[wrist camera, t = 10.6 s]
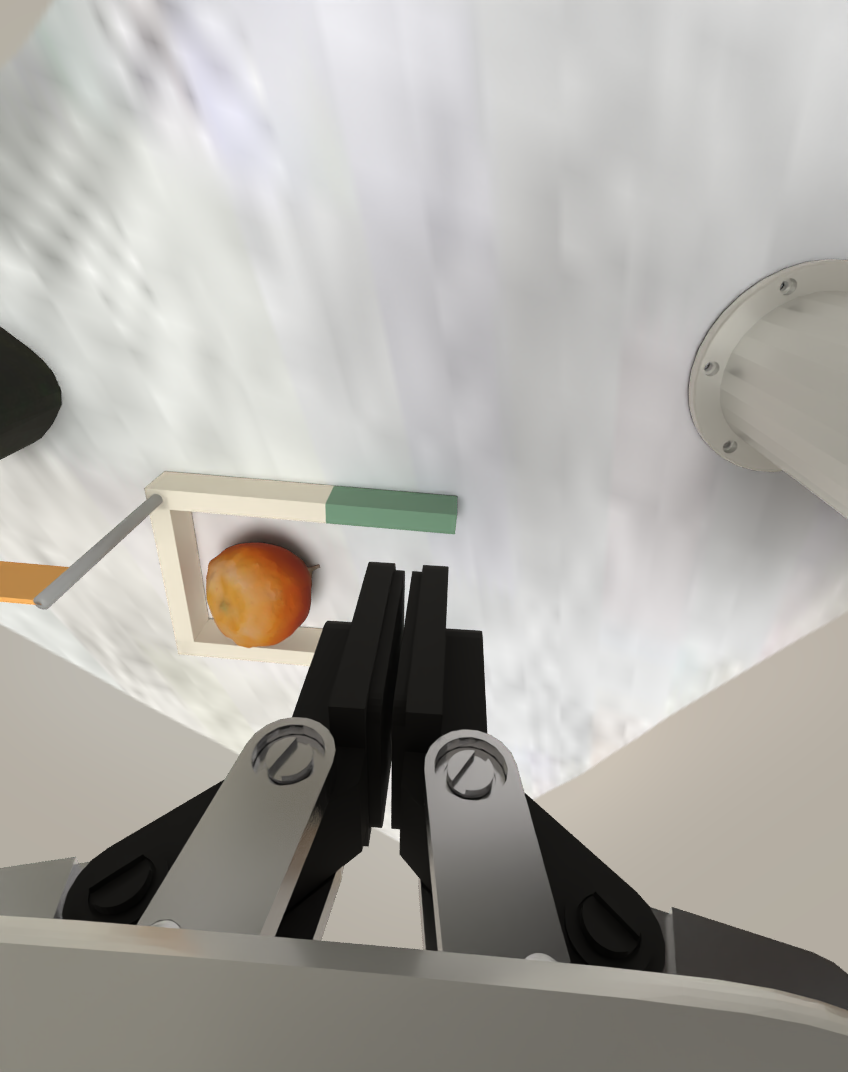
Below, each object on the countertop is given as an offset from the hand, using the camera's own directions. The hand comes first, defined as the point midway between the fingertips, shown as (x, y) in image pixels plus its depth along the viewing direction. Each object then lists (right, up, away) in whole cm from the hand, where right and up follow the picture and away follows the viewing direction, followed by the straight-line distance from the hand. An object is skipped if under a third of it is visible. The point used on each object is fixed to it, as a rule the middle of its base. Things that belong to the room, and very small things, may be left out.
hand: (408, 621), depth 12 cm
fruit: (-12, -1, +32) cm, 34 cm away
